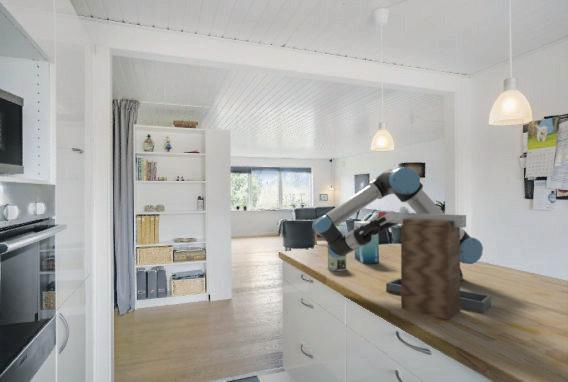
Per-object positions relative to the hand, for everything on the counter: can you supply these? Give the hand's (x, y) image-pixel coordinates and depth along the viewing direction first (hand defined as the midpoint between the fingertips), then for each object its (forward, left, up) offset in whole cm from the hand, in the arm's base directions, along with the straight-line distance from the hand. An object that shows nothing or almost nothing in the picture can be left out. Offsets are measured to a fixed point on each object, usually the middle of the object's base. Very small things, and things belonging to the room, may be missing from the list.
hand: (401, 213), depth 124 cm
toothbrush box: (-7, -79, -34) cm, 86 cm away
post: (-7, +7, -34) cm, 35 cm away
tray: (-15, -6, -34) cm, 38 cm away
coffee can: (+15, -57, -34) cm, 68 cm away
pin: (-5, +5, -4) cm, 8 cm away
